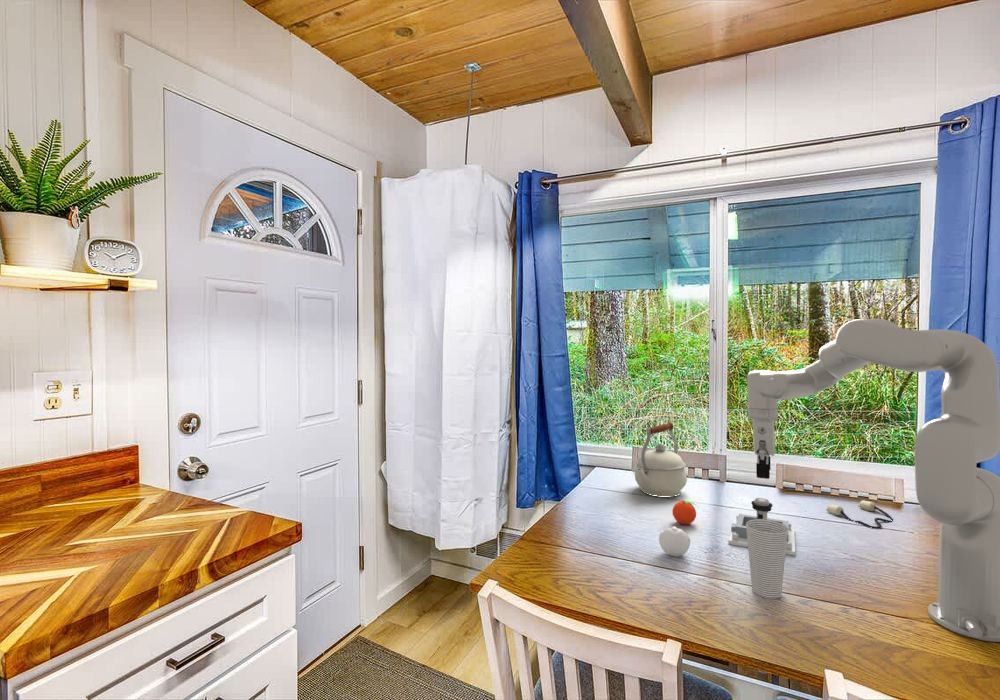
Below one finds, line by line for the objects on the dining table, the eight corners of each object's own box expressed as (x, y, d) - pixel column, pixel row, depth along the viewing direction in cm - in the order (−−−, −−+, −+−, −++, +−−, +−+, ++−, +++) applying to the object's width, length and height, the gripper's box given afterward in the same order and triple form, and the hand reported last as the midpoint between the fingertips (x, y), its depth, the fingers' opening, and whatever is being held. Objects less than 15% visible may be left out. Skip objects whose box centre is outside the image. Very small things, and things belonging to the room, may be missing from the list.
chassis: (795, 555, 133) (795, 540, 133) (728, 543, 141) (728, 529, 141) (793, 531, 148) (794, 517, 148) (734, 521, 156) (734, 509, 156)
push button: (779, 539, 141) (779, 504, 140) (761, 540, 140) (761, 505, 140) (764, 530, 147) (764, 496, 147) (747, 531, 147) (747, 497, 146)
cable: (912, 525, 153) (913, 513, 152) (871, 531, 148) (871, 520, 148) (863, 507, 168) (863, 497, 168) (824, 513, 163) (824, 503, 163)
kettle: (655, 480, 200) (655, 418, 199) (699, 491, 186) (698, 424, 185) (616, 494, 184) (615, 426, 183) (660, 507, 170) (660, 434, 169)
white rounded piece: (689, 550, 137) (689, 522, 137) (691, 563, 130) (691, 533, 129) (658, 547, 139) (658, 520, 139) (659, 560, 132) (659, 531, 132)
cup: (750, 579, 121) (750, 515, 120) (791, 590, 115) (791, 524, 115) (741, 594, 114) (741, 527, 114) (783, 606, 109) (784, 536, 108)
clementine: (696, 519, 159) (696, 497, 159) (702, 528, 152) (702, 505, 152) (670, 519, 160) (669, 497, 159) (675, 527, 153) (675, 504, 152)
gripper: (777, 419, 134) (778, 483, 134) (778, 410, 149) (779, 467, 149) (746, 417, 137) (747, 480, 138) (749, 409, 152) (750, 465, 153)
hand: (763, 473), depth 143 cm, fingers open, 9 cm apart
